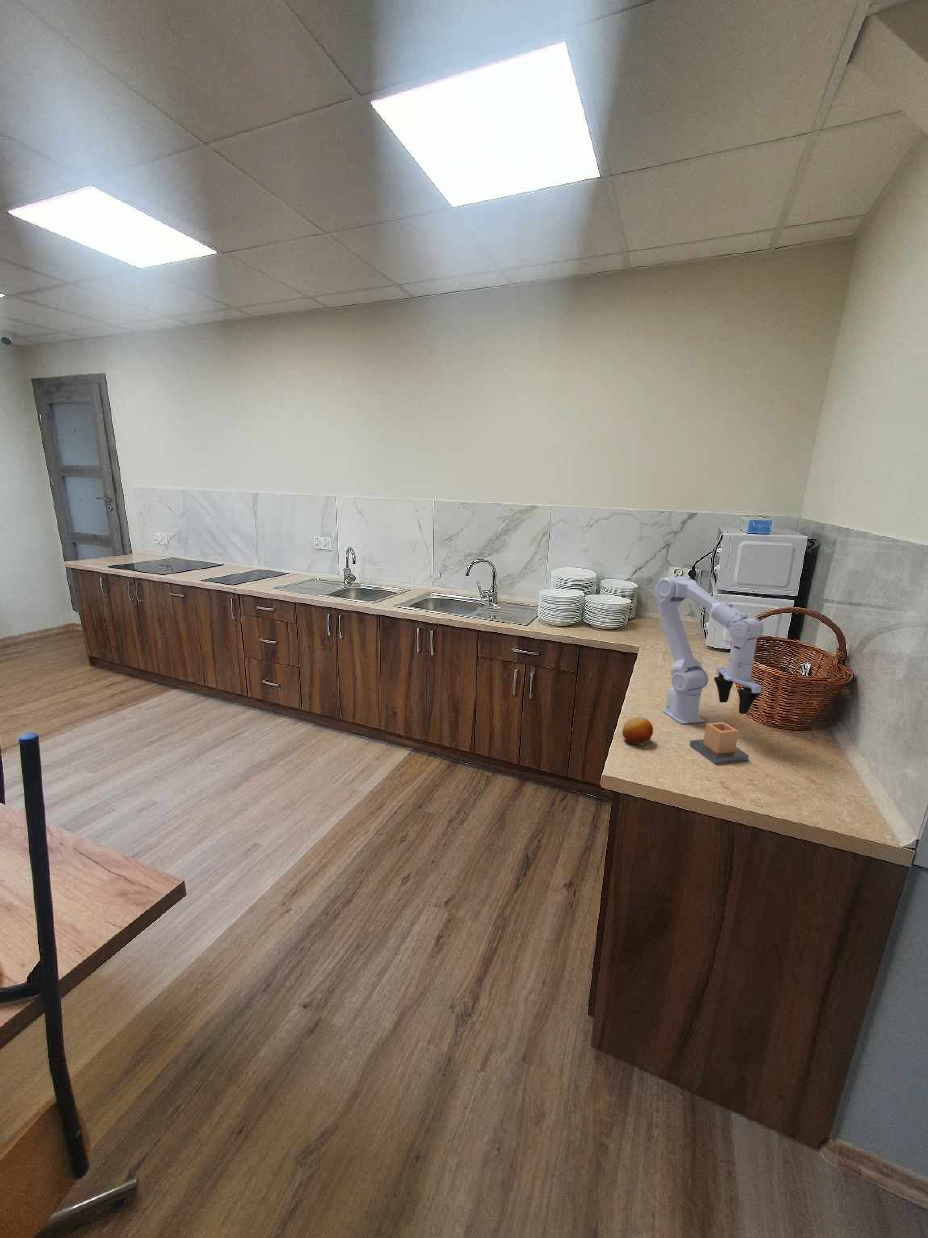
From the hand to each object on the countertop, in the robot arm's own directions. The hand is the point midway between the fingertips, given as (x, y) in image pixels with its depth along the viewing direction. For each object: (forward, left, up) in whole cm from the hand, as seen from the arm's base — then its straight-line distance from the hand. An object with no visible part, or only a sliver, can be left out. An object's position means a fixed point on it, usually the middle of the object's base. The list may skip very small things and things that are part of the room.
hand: (732, 707), depth 142 cm
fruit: (-3, -27, -10) cm, 29 cm away
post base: (+7, -9, -9) cm, 15 cm away
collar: (+7, -9, -8) cm, 14 cm away
